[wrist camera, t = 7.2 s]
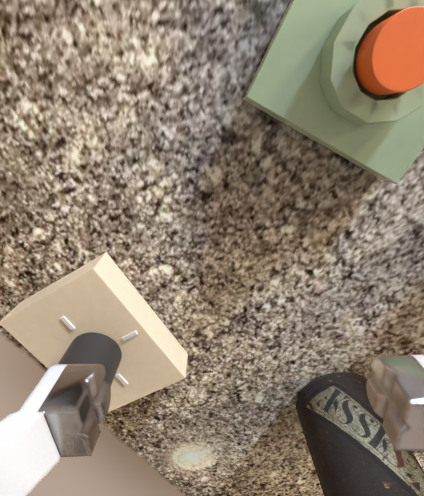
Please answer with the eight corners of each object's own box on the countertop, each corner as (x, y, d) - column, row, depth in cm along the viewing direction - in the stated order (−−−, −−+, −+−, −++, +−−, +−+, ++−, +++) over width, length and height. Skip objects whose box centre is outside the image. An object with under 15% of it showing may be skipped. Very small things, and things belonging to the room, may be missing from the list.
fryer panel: (20, 302, 26) (-4, 324, 24) (106, 251, 24) (92, 269, 22) (109, 390, 31) (98, 418, 28) (188, 354, 29) (185, 379, 26)
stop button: (342, 75, 16) (356, 69, 15) (384, 3, 15) (405, -12, 13) (392, 107, 17) (411, 105, 15) (437, 40, 16) (463, 31, 14)
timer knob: (59, 344, 25) (34, 380, 21) (101, 324, 24) (82, 359, 20) (91, 377, 26) (72, 417, 23) (131, 360, 25) (119, 398, 22)
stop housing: (242, 99, 20) (249, 94, 16) (328, -78, 16) (362, -136, 13) (380, 178, 22) (413, 189, 18) (482, 37, 18) (549, 16, 15)
